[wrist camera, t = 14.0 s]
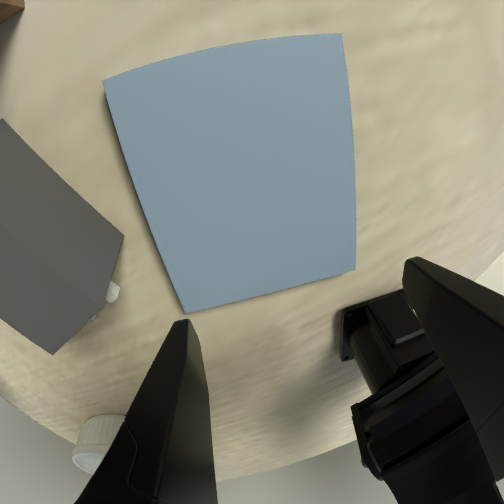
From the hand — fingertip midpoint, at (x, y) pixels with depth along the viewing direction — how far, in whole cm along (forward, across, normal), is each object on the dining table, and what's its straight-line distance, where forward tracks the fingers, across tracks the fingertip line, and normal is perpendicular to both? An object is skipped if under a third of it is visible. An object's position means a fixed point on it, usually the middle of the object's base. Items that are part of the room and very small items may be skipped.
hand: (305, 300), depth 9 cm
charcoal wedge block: (+9, +12, -2) cm, 15 cm away
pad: (+9, 0, 0) cm, 9 cm away
